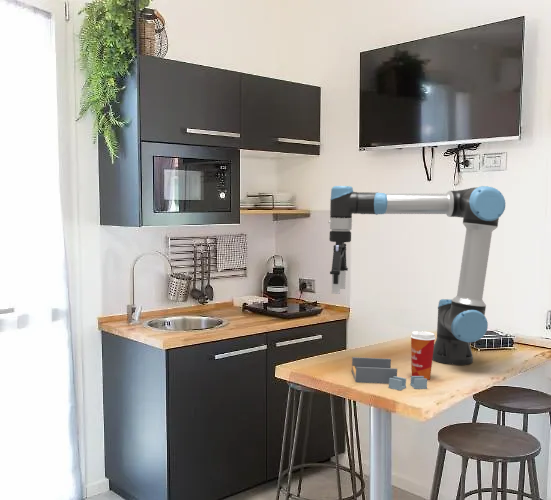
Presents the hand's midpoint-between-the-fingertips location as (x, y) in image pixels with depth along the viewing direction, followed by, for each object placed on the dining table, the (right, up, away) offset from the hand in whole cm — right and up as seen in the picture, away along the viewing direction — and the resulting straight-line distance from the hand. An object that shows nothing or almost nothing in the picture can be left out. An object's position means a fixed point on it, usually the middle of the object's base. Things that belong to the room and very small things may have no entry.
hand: (338, 291), depth 212 cm
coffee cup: (+26, -28, -11) cm, 40 cm away
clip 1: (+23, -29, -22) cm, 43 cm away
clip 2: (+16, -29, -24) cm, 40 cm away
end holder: (+10, -28, -13) cm, 32 cm away
